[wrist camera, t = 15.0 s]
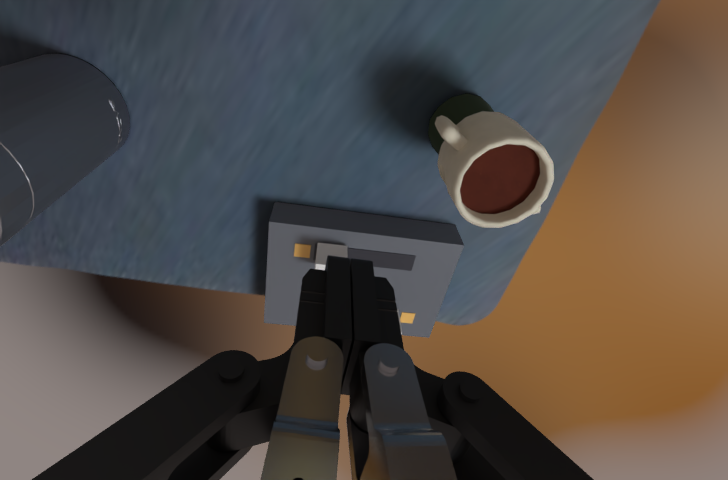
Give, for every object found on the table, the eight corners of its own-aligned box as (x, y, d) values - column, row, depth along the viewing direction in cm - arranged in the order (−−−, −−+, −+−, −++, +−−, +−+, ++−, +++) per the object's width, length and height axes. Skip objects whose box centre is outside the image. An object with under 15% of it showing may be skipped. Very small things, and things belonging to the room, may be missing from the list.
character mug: (392, 119, 38) (412, 179, 27) (446, 55, 35) (491, 95, 25) (470, 183, 42) (513, 257, 32) (524, 131, 39) (591, 193, 29)
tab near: (314, 265, 42) (312, 287, 39) (317, 242, 40) (315, 263, 38) (343, 268, 42) (343, 291, 40) (347, 245, 41) (347, 267, 38)
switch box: (269, 299, 50) (263, 323, 47) (274, 201, 43) (268, 222, 39) (423, 314, 53) (429, 338, 50) (455, 224, 45) (464, 245, 42)
